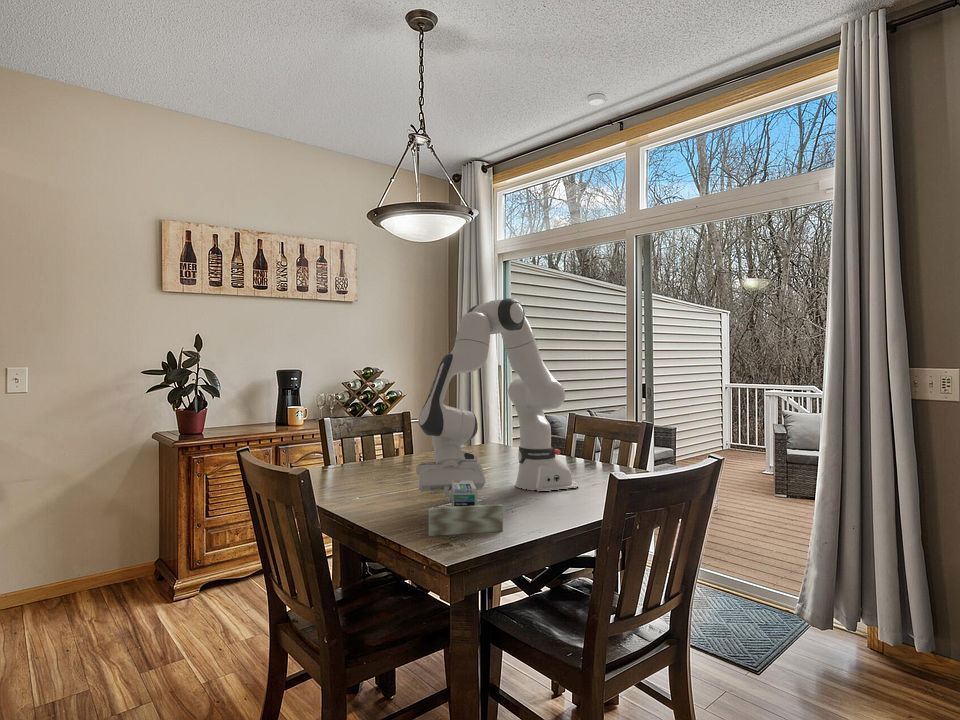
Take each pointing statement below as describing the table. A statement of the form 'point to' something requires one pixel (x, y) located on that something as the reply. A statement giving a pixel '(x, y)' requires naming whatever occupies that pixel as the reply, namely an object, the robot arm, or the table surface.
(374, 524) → the table surface
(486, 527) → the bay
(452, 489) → the light bulb box
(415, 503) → the table surface
